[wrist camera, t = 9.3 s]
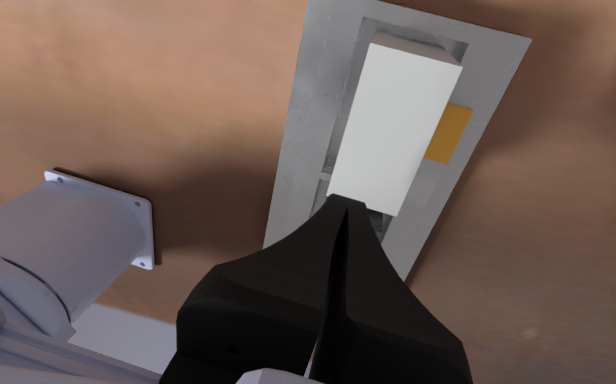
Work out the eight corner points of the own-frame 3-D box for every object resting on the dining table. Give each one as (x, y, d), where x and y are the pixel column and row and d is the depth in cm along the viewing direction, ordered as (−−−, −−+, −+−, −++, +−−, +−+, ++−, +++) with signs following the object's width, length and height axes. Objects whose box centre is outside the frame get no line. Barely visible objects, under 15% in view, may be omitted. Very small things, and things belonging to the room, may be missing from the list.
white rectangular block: (340, 151, 21) (325, 195, 16) (375, 29, 17) (370, 42, 12) (395, 166, 21) (396, 216, 16) (443, 47, 17) (463, 66, 12)
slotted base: (265, 248, 28) (242, 294, 23) (315, -17, 18) (290, -20, 13) (394, 289, 27) (395, 344, 23) (525, 36, 17) (570, 51, 13)
